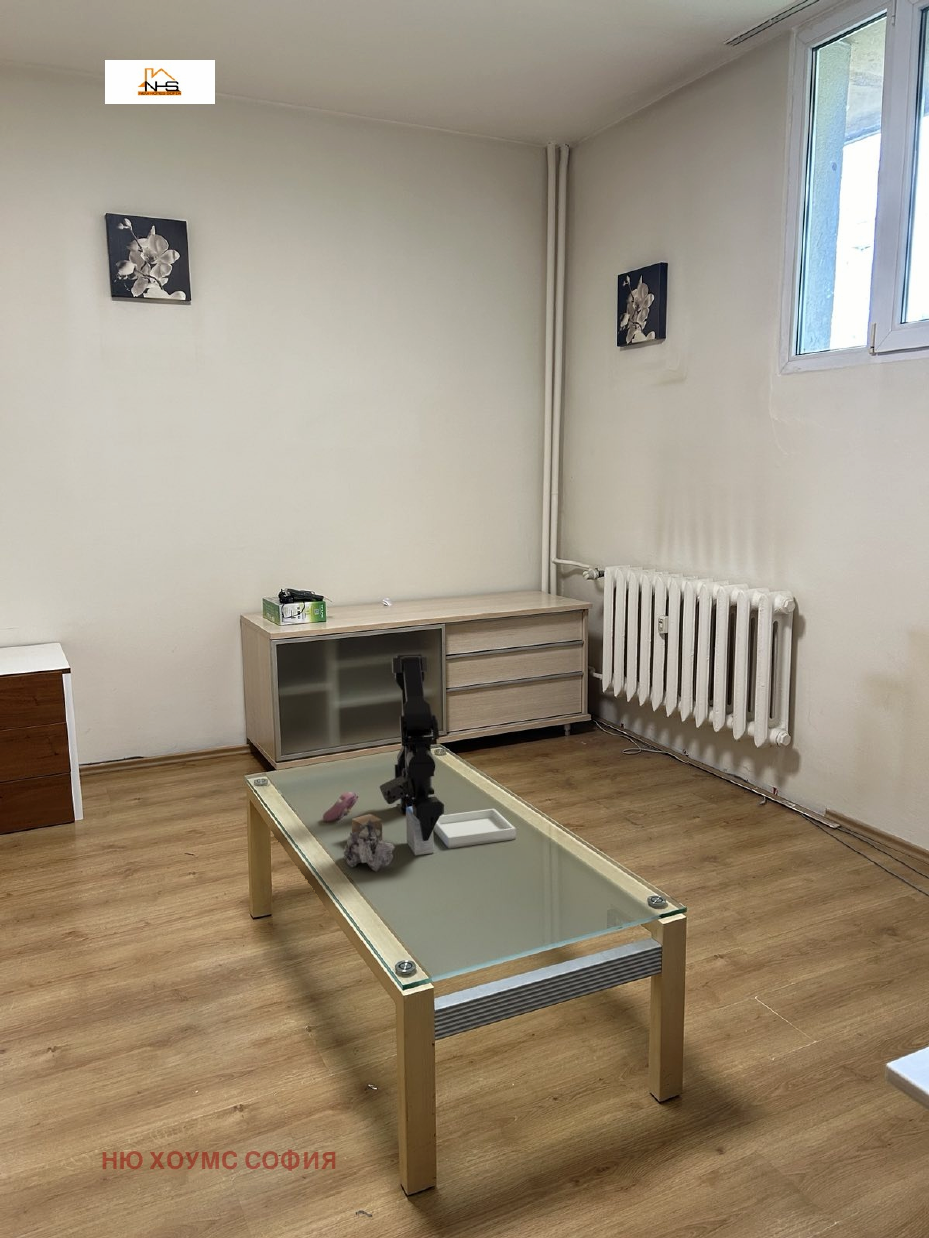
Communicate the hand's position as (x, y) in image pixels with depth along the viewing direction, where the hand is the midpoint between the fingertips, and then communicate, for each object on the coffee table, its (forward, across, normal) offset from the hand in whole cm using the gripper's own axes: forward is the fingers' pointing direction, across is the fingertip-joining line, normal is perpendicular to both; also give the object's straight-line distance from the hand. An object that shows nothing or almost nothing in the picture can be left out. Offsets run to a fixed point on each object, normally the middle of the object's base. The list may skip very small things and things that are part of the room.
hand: (419, 833), depth 206 cm
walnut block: (+4, -9, -10) cm, 14 cm away
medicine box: (+4, 0, 0) cm, 4 cm away
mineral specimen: (+4, +5, -14) cm, 15 cm away
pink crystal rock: (+4, -26, -12) cm, 29 cm away
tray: (+3, -4, +14) cm, 15 cm away
